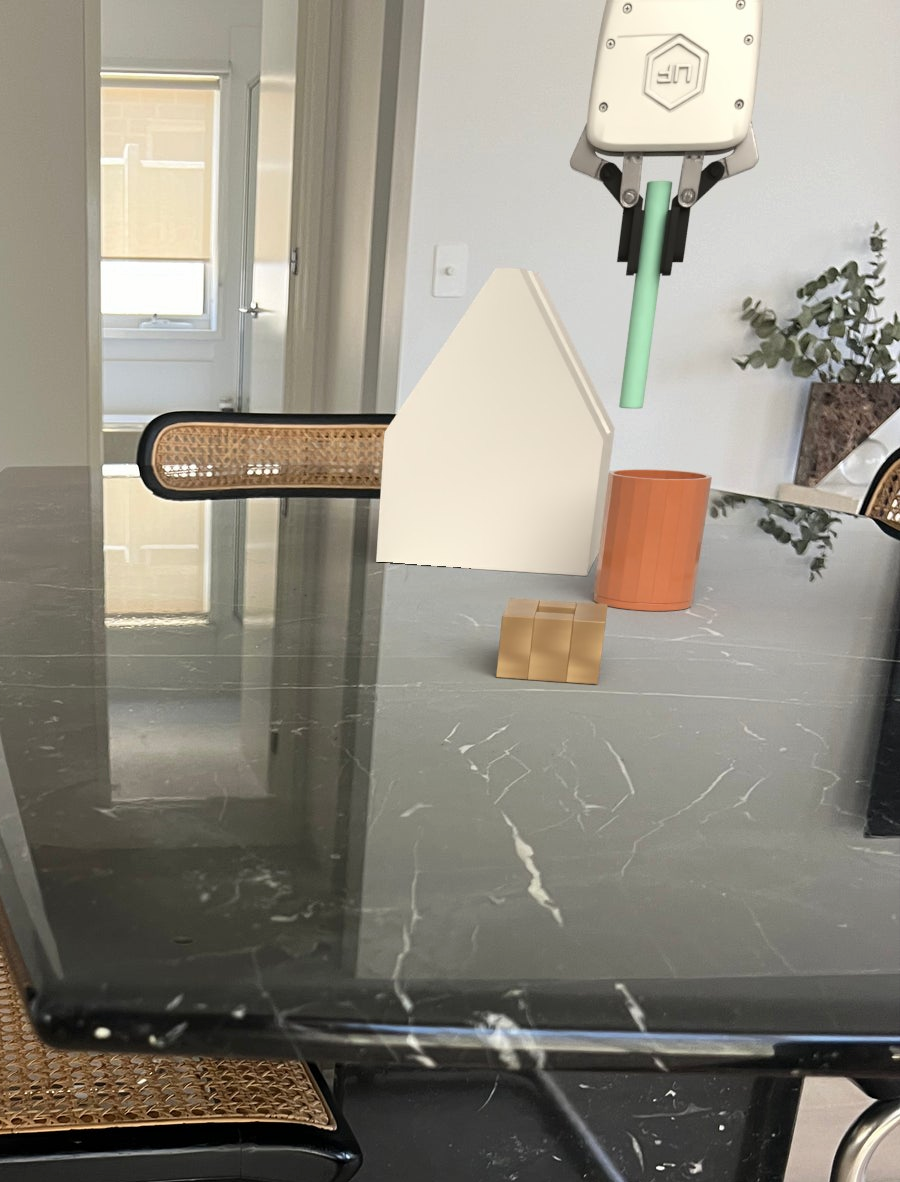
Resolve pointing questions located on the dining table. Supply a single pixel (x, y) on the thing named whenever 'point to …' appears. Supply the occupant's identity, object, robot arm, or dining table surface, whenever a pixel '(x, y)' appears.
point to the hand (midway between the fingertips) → (648, 273)
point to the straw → (645, 294)
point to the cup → (651, 539)
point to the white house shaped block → (499, 445)
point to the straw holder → (551, 641)
